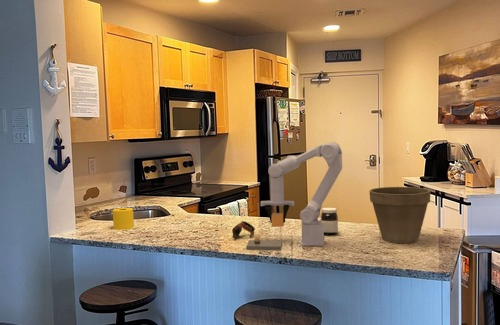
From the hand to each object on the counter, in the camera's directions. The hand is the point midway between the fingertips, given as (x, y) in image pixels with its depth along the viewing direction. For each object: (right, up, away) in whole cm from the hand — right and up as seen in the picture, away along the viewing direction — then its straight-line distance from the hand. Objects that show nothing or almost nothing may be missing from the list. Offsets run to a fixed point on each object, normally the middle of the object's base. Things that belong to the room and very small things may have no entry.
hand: (277, 222), depth 199 cm
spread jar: (+23, -7, +13) cm, 27 cm away
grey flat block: (-6, -9, -9) cm, 14 cm away
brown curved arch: (-16, -8, +9) cm, 20 cm away
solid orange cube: (0, -1, 0) cm, 1 cm away
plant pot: (+52, -7, -2) cm, 53 cm away
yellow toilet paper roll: (-77, -8, +36) cm, 85 cm away
